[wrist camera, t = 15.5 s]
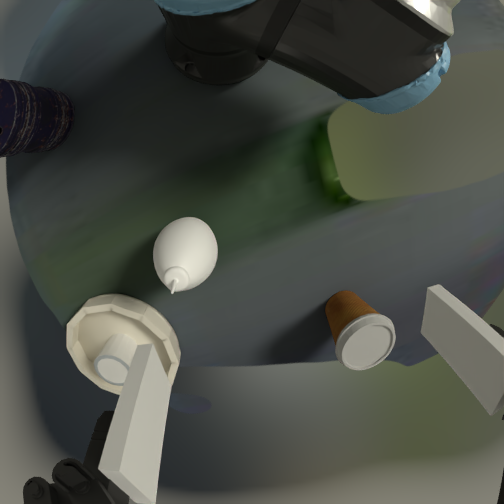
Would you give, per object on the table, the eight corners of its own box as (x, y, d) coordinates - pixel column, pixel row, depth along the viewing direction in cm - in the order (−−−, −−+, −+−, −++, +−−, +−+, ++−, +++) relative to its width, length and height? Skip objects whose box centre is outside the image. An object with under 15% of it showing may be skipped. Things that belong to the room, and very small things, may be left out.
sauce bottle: (205, 201, 42) (193, 239, 25) (226, 249, 45) (227, 314, 28) (156, 221, 42) (116, 270, 25) (178, 267, 45) (155, 337, 28)
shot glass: (100, 346, 48) (87, 370, 41) (115, 323, 46) (102, 347, 40) (131, 366, 50) (122, 392, 43) (148, 345, 48) (140, 371, 42)
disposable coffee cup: (317, 334, 51) (338, 379, 40) (313, 288, 48) (337, 329, 37) (366, 321, 52) (395, 361, 40) (366, 276, 48) (400, 311, 37)
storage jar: (18, 129, 34) (-42, 132, 20) (50, 79, 32) (-7, 64, 18) (51, 163, 37) (-9, 176, 23) (86, 111, 35) (30, 103, 21)
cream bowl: (58, 301, 45) (49, 312, 41) (159, 284, 46) (154, 296, 42) (101, 384, 52) (96, 397, 48) (192, 378, 53) (191, 393, 49)
